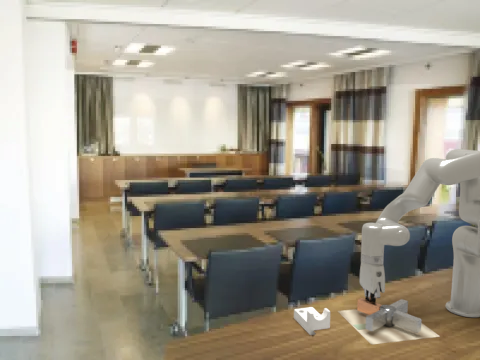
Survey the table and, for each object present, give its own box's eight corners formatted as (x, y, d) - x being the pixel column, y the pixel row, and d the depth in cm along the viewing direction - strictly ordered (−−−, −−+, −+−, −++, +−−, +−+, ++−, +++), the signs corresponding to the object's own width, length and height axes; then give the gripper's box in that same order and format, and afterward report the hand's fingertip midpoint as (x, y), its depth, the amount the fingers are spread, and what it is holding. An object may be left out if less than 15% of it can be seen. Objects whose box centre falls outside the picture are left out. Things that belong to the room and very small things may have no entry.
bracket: (329, 333, 141) (330, 311, 140) (310, 336, 139) (310, 314, 138) (312, 316, 153) (312, 296, 152) (293, 318, 151) (294, 298, 150)
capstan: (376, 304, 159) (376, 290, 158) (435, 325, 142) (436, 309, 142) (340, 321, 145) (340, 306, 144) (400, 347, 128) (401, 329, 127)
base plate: (397, 309, 159) (397, 304, 159) (440, 340, 136) (440, 335, 135) (337, 315, 154) (337, 310, 154) (371, 348, 131) (371, 343, 130)
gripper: (393, 264, 142) (391, 316, 145) (371, 251, 157) (369, 299, 159) (373, 266, 141) (371, 319, 143) (352, 253, 155) (350, 301, 158)
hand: (370, 308), depth 151 cm, fingers closed
